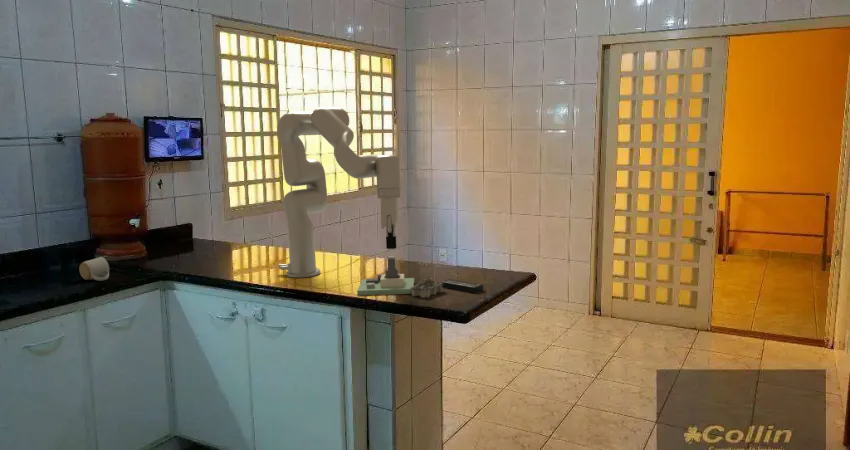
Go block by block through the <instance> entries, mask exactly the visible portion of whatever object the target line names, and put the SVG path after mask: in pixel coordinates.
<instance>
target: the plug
mask: <svg viewBox="0 0 850 450" xmlns="http://www.w3.org/2000/svg"><path fill="white" fill-rule="evenodd" d="M396 261H397V258H396V256H394V255H391V256H388V257H387V268H386V269H385V274H386V278H399V274H400V273H399V267H397V264H396V263H397V262H396Z"/></svg>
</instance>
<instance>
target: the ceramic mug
mask: <svg viewBox="0 0 850 450" xmlns="http://www.w3.org/2000/svg"><path fill="white" fill-rule="evenodd" d="M78 269H79V270H78V271H79V274H80V277H82V279H84V280H85V281H92V280H95V281H99V282H103V281H106V280H108V279H109V277H110V265H109V263H108V261H107V259H106V258H104V257H102V256H99V257H96V258H93V259H89V260H85V261H82V262H81V263H80V264H79V268H78Z"/></svg>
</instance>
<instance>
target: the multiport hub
mask: <svg viewBox="0 0 850 450" xmlns="http://www.w3.org/2000/svg"><path fill="white" fill-rule="evenodd" d="M440 283H444V284H442V288H445V289H451V290H456V291H461V292H466V293H473V294H479V293H481V292H484V284H481V283H477V282H470V281H469V282H468V281H464V280H458V279H451V278H448V279H444V280H442V281H441V282H440Z"/></svg>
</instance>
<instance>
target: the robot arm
mask: <svg viewBox="0 0 850 450" xmlns="http://www.w3.org/2000/svg"><path fill="white" fill-rule="evenodd" d="M349 125H350V115H349V114H348V112H347V111H346V110H345V109H344V108H342V107H338V106H337V107H336V106H320V107H317V108H315V109H314V110H313V111H302V110H301V111H300V110H298V111H297V110H296V111H289V112H287V113H284V114H283V115H282V116H281V117H280V118H279V120H278V122H277V126H276V130H277V131H276V133H277V137H278V141H279V145H280V149H281V158H282V159H281V160H282V168H283V169H282V170H283V175H284V176H283V177H284V180H285V183H286V184H287V185H289V186H290V187H291V186H292V187H301V186H302V187H303V186H306V188H302V189H295V190H291V191H288V192H287V193H286V194H285V195H284V197H283V200H282V208H283V211H284V215H285V219H286V220H285V221H286V227H287V228H286V229H287V230H286V231H287V242H288V244H287V245H288V257H289V262H288V263H285V264H284V263H279V264H278V269H279V270H280V271H283V270H284V271H285V270H287V271H286V274H285V275H286V277H288V278H295V279H296V278H297V279H298V278H310V277H315V276H317V275H320V273H321V269H320V268H318V267H317V264H316V263H317V262H316V248H315V246H316V244H315V233H314V225H313V222H312V220H311V218H310V216H309V215H310V214H311V215H313V214H317V213H321V212H324V211H325V210H326V207H327V205H328V189H327V180H326V171H325V169H324V166H323V164H322V162H320V161H319V160H317V159H314V158H307V155H306V147H305V145H304V143H303V141H302V140H301V138H300V136H317V135H320V136H322V137H323V138H324V139H325V140H326V141H327V142H328V144H330V145H331V146H332V148H333V153H334V157H335V161H336V163H337V164H338V165H339V167H340V168H341V169H343V171H344V172H346V174H347V175H348V176H350V177H351V178H353V179H357V180H359V179H369V178H376V188H377V193H376V195H377V198H378V199H380V228H381V229H382V230H384V228H385V234H386V235H385V244H386V247H385V248H386V249H387V250H394V249H395V250H396V249H397V235H396V228H397V226H398V199H399V198H401V197H402V196H401V195H402V194H401V178H400V177H401V175H400V172H401V171H400V159H399V157H398V156H397V155H395V154H384V155H382V154H376V153H373V154H360V155H358V154H356V153H355V151H353V149H352V148H351V147H350V145H351V144H352V142H354V141H353V140H354V137H355V135H354V131H353V130H352V129H351V128H350V127H349Z"/></svg>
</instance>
